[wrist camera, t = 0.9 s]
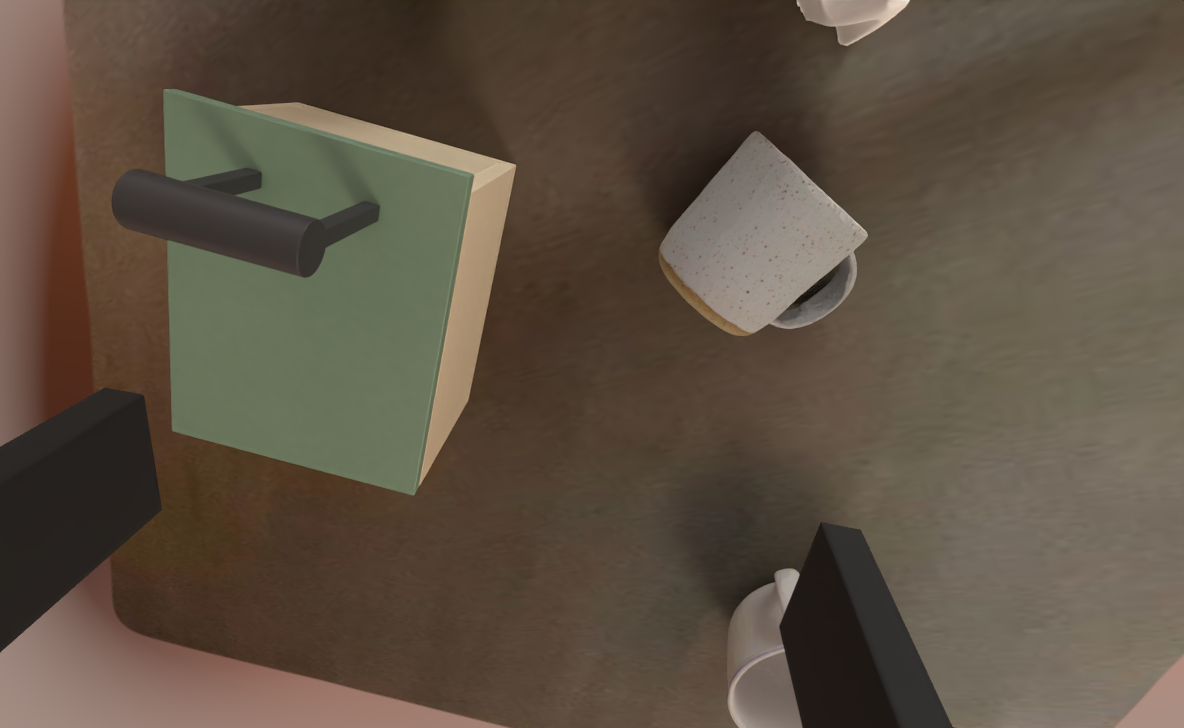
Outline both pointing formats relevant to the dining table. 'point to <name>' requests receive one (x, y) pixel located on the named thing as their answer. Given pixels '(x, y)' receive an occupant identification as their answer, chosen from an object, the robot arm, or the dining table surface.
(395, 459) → the lid
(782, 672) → the teacup
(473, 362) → the tan storage tray
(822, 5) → the shaker set
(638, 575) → the dining table surface
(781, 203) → the ceramic mug
